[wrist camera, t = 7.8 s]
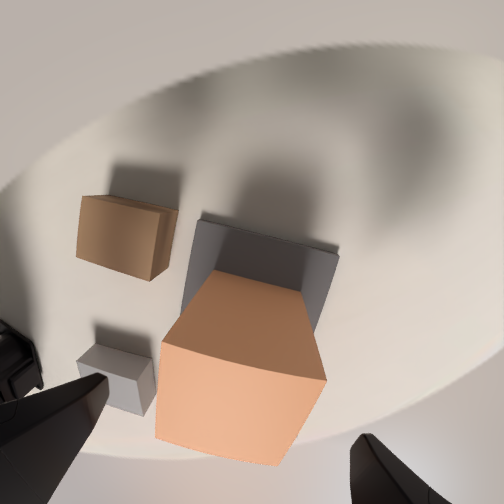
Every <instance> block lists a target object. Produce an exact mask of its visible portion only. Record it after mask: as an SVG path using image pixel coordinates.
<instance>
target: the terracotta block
mask: <svg viewBox="0 0 504 504" xmlns="http://www.w3.org/2000/svg"><path fill="white" fill-rule="evenodd" d="M326 382H327V379H326V375H325V372H324V368H323V365H322V361H321V358H320V354H319V351H318V347H317V344H316V340H315V337H314V334H313V330H312V327H311V324H310V320H309V317H308V314H307V310H306V307H305V304H304V301H303V297H302V294H301V292H299V291H295V290H291V289H287V288H283V287H279V286H275V285H271V284H267V283H263V282H259V281H255V280H251V279H248V278H244V277H240V276H236V275H232V274H228V273H225V272H221V271H217V270H213V271H212V273H211V274H210V275H209V277H208V278H207V279H206V281H205V282H204V283H203V285H202V286H201V288H200V289H199V290H198V292H197V293H196V294H195V296H194V297H193V299H192V300H191V301H190V303H189V304H188V305H187V307H186V308H185V310H184V311H183V312H182V314H181V315H180V317H179V318H178V319H177V321H176V322H175V324H174V325H173V326H172V328H171V329H170V331H169V332H168V333H167V335H166V336H165V338H164V339H163V340H162V343H161V353H160V363H159V375H158V388H157V403H156V425H155V438H157V439H160V440H163V441H166V442H169V443H172V444H175V445H178V446H182V447H185V448H188V449H192V450H196V451H199V452H203V453H207V454H211V455H215V456H220V457H224V458H229V459H234V460H239V461H245V462H250V463H257V464H264V465H271V466H278V465H279V463H280V462H281V460H282V459H283V457H284V456H285V454H286V453H287V451H288V449H289V448H290V446H291V445H292V443H293V441H294V440H295V438H296V437H297V435H298V433H299V432H300V430H301V428H302V426H303V425H304V423H305V421H306V419H307V418H308V416H309V414H310V412H311V411H312V409H313V407H314V405H315V403H316V401H317V399H318V398H319V396H320V394H321V392H322V390H323V388H324V386H325V384H326Z"/></svg>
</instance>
